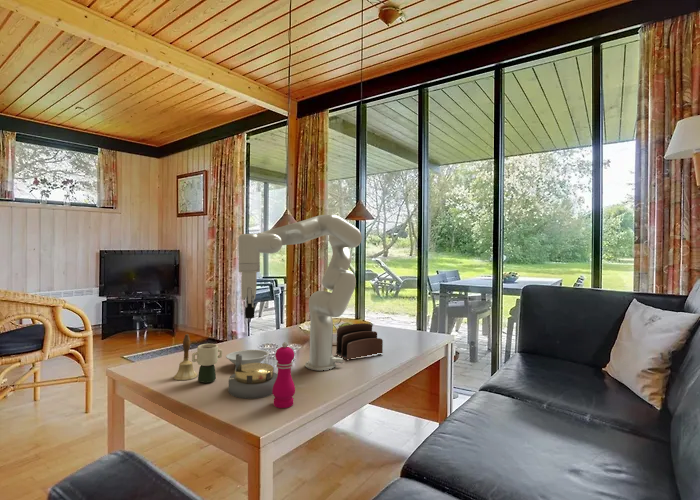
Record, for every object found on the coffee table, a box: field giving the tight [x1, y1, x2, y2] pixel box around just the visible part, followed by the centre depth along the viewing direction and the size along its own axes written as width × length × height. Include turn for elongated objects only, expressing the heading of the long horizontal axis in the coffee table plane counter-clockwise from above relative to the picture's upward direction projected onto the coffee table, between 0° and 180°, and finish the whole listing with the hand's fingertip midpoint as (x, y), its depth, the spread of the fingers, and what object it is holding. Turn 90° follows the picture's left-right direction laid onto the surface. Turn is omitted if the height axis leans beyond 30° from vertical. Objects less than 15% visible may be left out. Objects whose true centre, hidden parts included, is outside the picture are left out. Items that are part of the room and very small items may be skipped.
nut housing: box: [228, 371, 278, 400], centre depth 137 cm, size 17×17×4 cm
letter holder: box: [335, 322, 384, 360], centre depth 183 cm, size 10×20×14 cm, turn 123°
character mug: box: [191, 343, 223, 383], centre depth 143 cm, size 11×7×13 cm, turn 128°
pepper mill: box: [272, 341, 296, 409], centre depth 125 cm, size 7×7×20 cm
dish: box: [225, 349, 270, 365], centre depth 161 cm, size 18×14×5 cm
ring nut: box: [234, 354, 274, 384], centre depth 137 cm, size 13×13×8 cm
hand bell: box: [173, 333, 198, 381], centre depth 147 cm, size 8×8×16 cm
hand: (249, 317), depth 143 cm, fingers closed
